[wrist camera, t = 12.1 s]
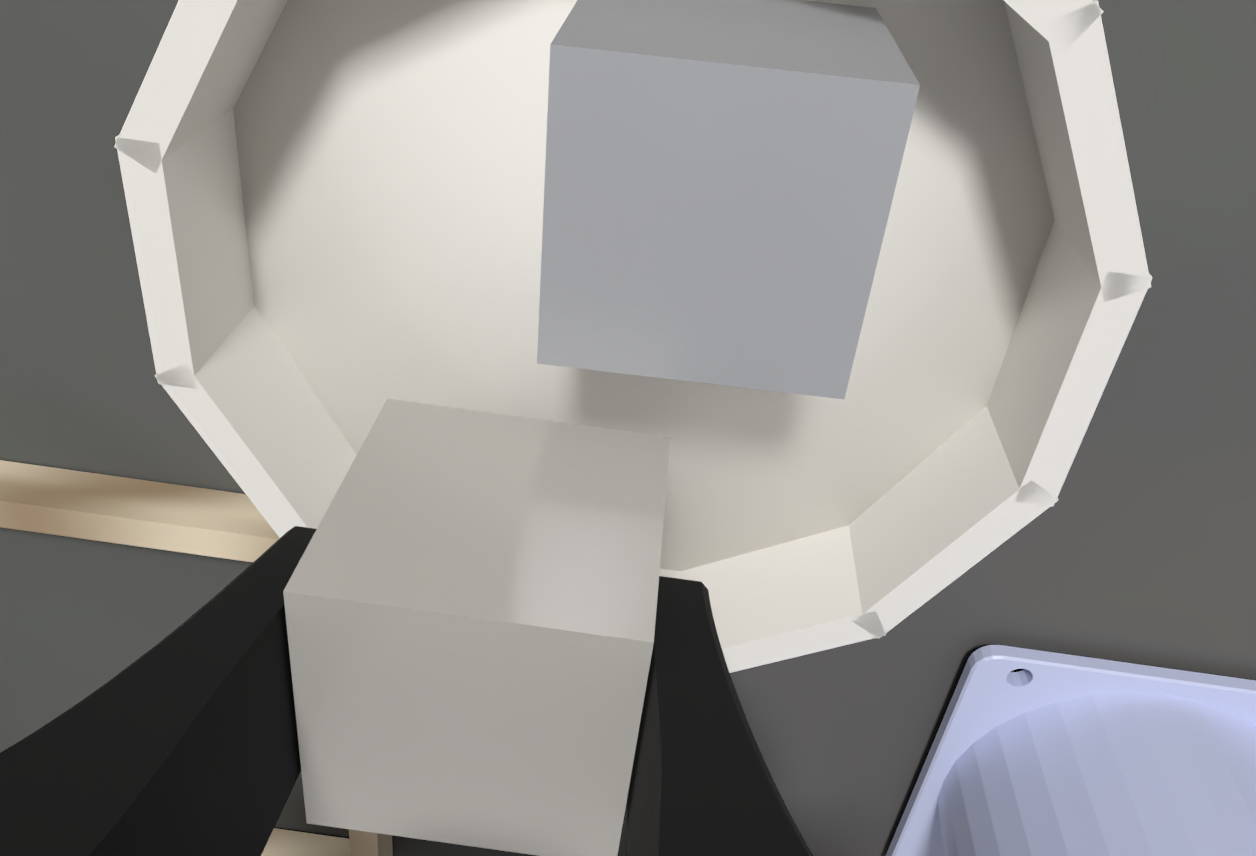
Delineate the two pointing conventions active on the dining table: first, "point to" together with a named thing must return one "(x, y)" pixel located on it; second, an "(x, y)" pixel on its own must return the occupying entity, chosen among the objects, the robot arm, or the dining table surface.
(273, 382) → the bowl
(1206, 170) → the dining table surface
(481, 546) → the beige grey cube
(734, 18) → the matte grey cube
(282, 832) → the parts frame
